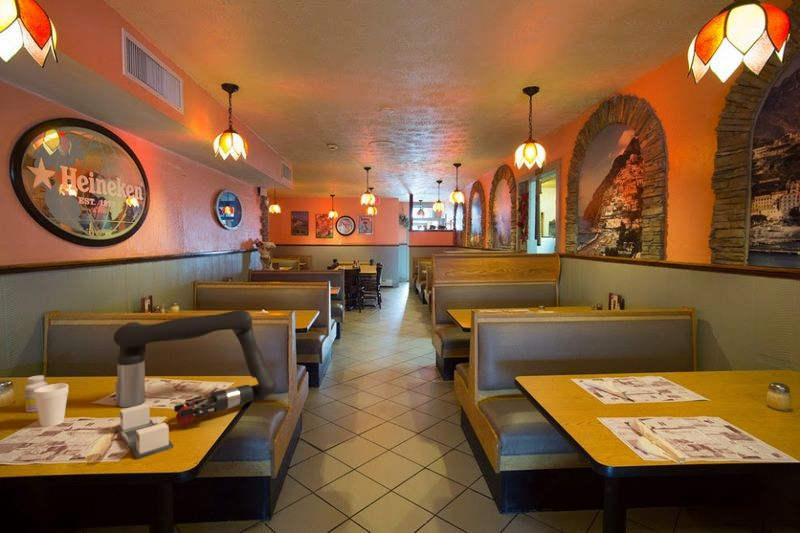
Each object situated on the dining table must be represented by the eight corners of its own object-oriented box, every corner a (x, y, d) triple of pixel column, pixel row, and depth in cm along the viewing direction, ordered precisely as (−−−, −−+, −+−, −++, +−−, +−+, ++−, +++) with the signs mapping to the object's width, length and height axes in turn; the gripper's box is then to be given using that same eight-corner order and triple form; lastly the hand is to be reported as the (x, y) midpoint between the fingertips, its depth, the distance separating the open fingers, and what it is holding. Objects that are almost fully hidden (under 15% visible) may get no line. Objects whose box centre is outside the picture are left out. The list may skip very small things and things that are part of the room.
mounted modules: (119, 426, 138) (119, 410, 138) (146, 419, 144) (146, 403, 144) (138, 454, 120) (138, 435, 120) (168, 444, 126) (168, 426, 126)
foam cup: (30, 430, 136) (29, 394, 135) (39, 420, 144) (39, 385, 144) (65, 425, 140) (64, 390, 140) (72, 415, 148) (71, 382, 148)
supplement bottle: (44, 404, 158) (43, 373, 158) (51, 408, 155) (50, 376, 154) (22, 410, 153) (21, 377, 152) (28, 414, 149) (27, 381, 149)
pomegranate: (197, 423, 143) (197, 402, 143) (184, 430, 138) (184, 408, 137) (185, 421, 145) (185, 400, 145) (172, 428, 140) (172, 406, 139)
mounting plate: (115, 429, 138) (115, 423, 138) (149, 420, 146) (149, 415, 146) (135, 459, 119) (135, 453, 119) (174, 447, 126) (174, 441, 126)
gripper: (217, 385, 156) (170, 395, 144) (233, 394, 146) (184, 407, 134) (217, 403, 157) (171, 415, 144) (233, 414, 147) (184, 428, 135)
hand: (177, 411), depth 139 cm, fingers closed on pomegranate, 5 cm apart
